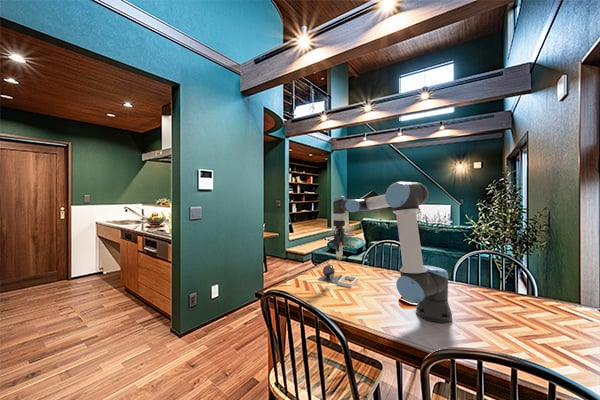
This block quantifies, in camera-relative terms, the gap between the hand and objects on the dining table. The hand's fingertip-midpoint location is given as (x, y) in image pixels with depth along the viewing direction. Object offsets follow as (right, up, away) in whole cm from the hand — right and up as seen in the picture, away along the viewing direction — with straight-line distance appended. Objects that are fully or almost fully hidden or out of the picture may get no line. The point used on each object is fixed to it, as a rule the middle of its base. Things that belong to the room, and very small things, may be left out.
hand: (339, 255), depth 157 cm
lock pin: (0, -2, 0) cm, 2 cm away
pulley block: (-5, -18, +5) cm, 19 cm away
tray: (+5, -18, -2) cm, 19 cm away
